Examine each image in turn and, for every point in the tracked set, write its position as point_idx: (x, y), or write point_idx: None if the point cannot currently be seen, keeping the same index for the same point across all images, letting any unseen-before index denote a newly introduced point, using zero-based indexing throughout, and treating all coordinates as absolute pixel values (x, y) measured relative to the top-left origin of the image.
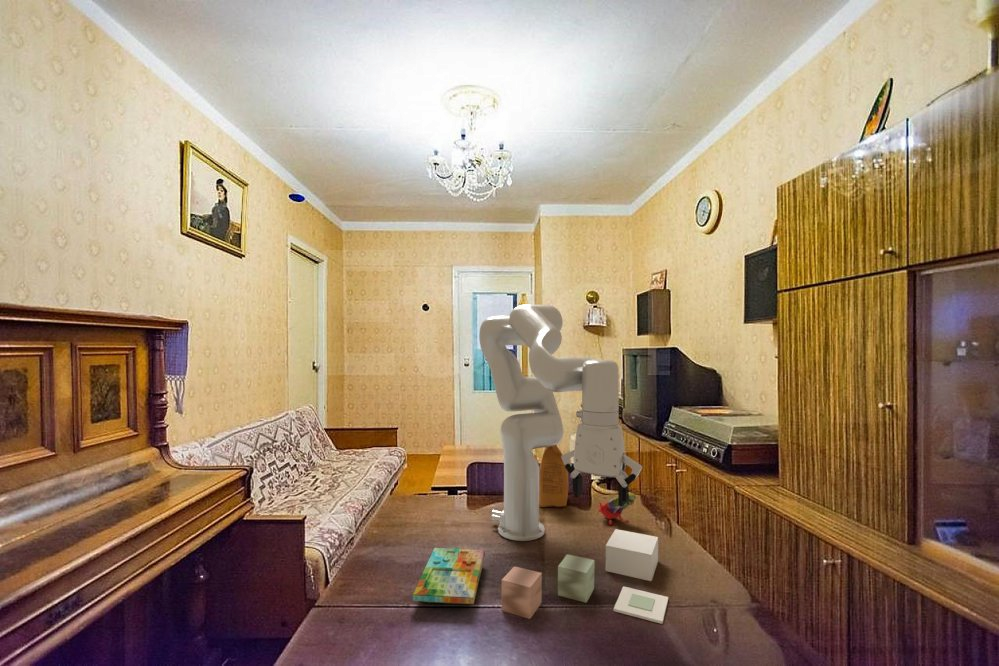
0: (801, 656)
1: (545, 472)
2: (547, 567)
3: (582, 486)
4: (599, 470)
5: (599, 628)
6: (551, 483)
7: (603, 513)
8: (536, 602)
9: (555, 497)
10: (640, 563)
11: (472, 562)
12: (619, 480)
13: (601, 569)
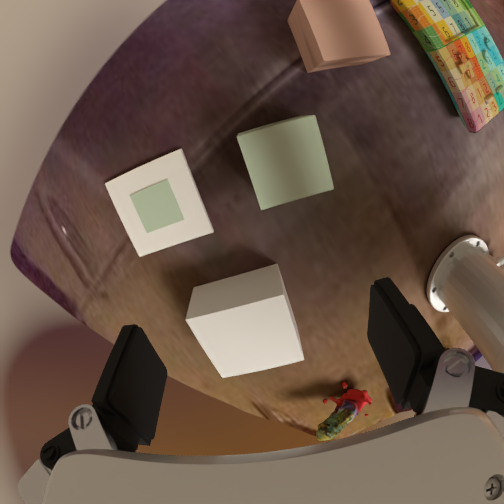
0: (10, 251)
1: None
2: (375, 195)
3: (379, 362)
4: (190, 501)
5: (170, 84)
6: None
7: (359, 392)
8: (300, 43)
9: None
10: (209, 299)
11: (460, 63)
12: (98, 438)
13: (286, 262)
